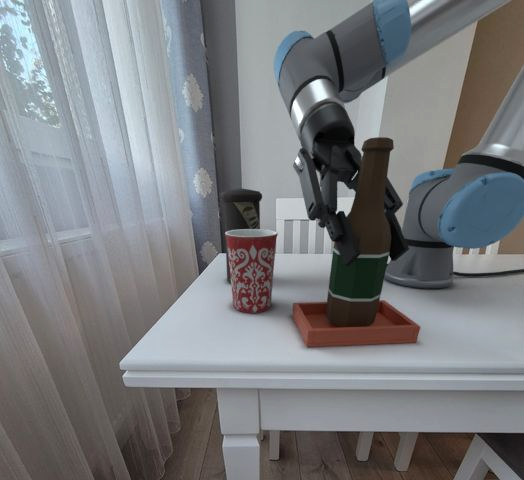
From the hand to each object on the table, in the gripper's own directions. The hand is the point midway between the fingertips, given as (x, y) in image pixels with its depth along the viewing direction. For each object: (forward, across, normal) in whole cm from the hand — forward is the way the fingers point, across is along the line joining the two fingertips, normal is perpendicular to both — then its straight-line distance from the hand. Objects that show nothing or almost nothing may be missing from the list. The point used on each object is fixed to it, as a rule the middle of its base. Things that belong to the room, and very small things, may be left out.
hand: (377, 257), depth 40 cm
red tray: (+6, 0, -11) cm, 12 cm away
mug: (-6, +10, -23) cm, 26 cm away
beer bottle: (+5, 0, -10) cm, 11 cm away
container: (-17, +6, -34) cm, 39 cm away
